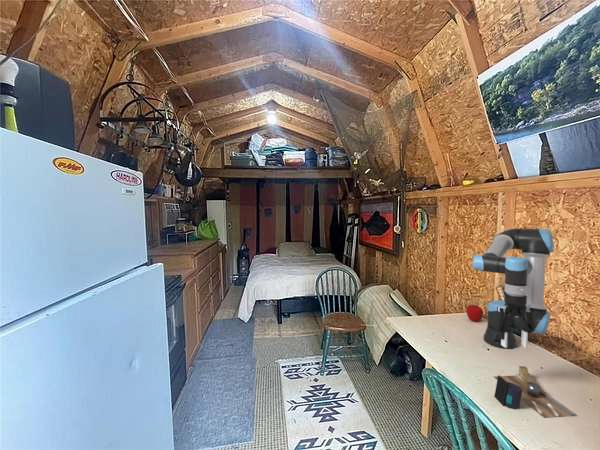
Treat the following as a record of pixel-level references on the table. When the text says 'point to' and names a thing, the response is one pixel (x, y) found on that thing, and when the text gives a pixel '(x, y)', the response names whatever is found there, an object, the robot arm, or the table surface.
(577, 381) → the table surface
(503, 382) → the speaker
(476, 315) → the apple
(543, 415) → the plate
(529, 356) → the table surface
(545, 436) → the table surface
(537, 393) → the latch bar
